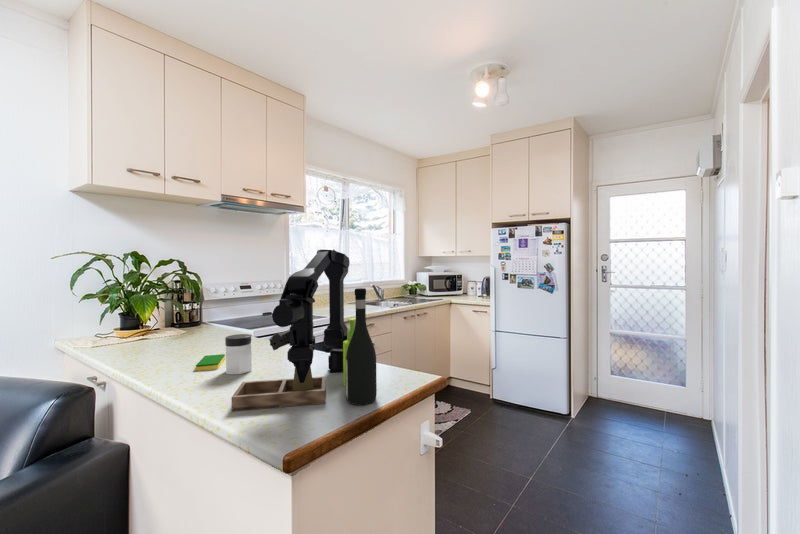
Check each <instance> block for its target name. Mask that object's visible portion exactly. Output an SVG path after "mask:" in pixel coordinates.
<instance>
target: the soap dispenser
mask: <svg viewBox="0 0 800 534" xmlns="http://www.w3.org/2000/svg"><path fill="white" fill-rule="evenodd" d="M347 322H349V328H348V330H347V340H345V341H343V372H342V373H343V386H344V387H345V386H346V354H347V349H348V346H349V343H350V340H351V338H352V335H353V332H354V329H355V323H356V317H350V318H348V319H347Z"/></svg>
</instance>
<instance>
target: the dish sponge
mask: <svg viewBox="0 0 800 534" xmlns="http://www.w3.org/2000/svg"><path fill="white" fill-rule="evenodd" d="M224 361H226V353H222V354H209V355H204V356H203V357H202V358H201V359H200V360H199V361H198V362H197V363H196V365H195V371H196V372H197V371H209V370H210V371H212V370H218V369H220V368H221V366H222V364H223V363H224Z"/></svg>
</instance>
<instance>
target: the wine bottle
mask: <svg viewBox="0 0 800 534" xmlns="http://www.w3.org/2000/svg"><path fill="white" fill-rule="evenodd" d="M354 296H355V299H354V300H355V304H354V306H355V318H356V321H355V329H354V332H353V335H352V338H351V340H350V343H349V346H348V349H347V354H346V387H345V389H346V390H345V392H346V393H345V395H346V400H347V402H348V403H349V404H352V405H354V406H355V405H356V406H364V405H365V406H366V405H369V404H372V403H373V402H374V401H375V400H376V399H377V394H378V393H377V391H378V390H377V389H378V388H377V386H378V385H377V384H378V383H377V355H376V349H375V346H374V345H375V344H374V343H373V340H372V338H371V335H370V333H369V330H368V326H367V314H366V305H367V304H366V300H367V298H366V296H367V288H365V287H362V288H361V287H360V288H358V287H357V288H355V289H354Z"/></svg>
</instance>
